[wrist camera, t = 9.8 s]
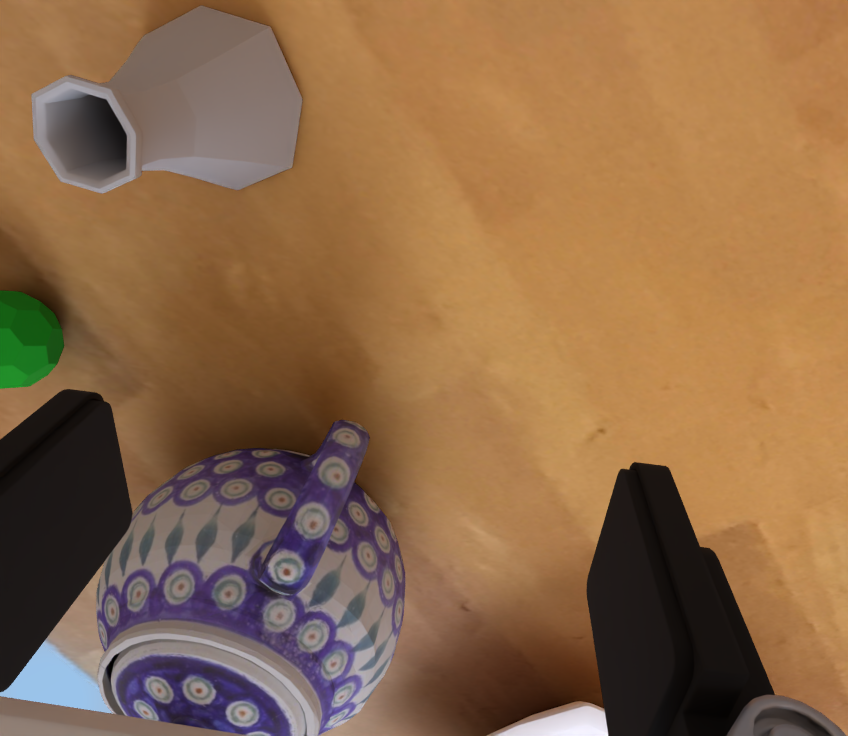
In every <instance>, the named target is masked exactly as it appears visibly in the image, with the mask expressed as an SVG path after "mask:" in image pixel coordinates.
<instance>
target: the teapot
mask: <svg viewBox="0 0 848 736" xmlns="http://www.w3.org/2000/svg"><path fill="white" fill-rule="evenodd" d="M369 439H370V437H369V434H368V432H367V430H366V429H365V428H364V427H363V426H361V425H359V424H358V423H356V422H353V421H347V420H339V421H335V422H334V423H333V425H332V427H331V429H330V430H329V432H328V434H327V436H326V438H325V440H324V441H323V443H322V445H321V446H320V448H319V449H318V450H317V452H316V453H315V454H313V455H311V456H309V455H306V454H303V453H298V452H293V451H288V450H279V449H264V448H252V449H239V450H233V451H229V452H226V453H222V454H218V455H215V456H212V457H209V458H206V459H204V460H202V461H199V462H197V463H195V464H193V465H190V466H188V467H186V468H185V469H183V470H182V471H180V472H179V473H177V474H176V475H174V476H173V477H172V478H170V479H169V480H167V481H166V482H165V483H163V484H162V485H161V486H159V487H158V488H157V489H156V490H154V491H153V492H152V493H150V494H149V495H148V496H147V497H146V498H145V499H144V500H143V502H142V503H141V504H140V505H139V506H138V507H137V509H136V510H135V511H134V512H133V513H132V520H131V524H130V527H129V529H128V531H127V532H126V534H125V535H124V536H123V538H122V539H121V540H120V541H119V543H118V544H117V545H116V547H115V548H114V549H113V551H112V552H111V553H110V555H109V556H108V557H107V559H106V560H105V562H104V566H103V569H102V572H101V576H100V579H99V584H98V588H97V592H96V613H97V624H98V632H99V636H100V640H101V643H102V646H103V648H104V651H105V653H104V654H103V655H102V657H101V659H100V663H99V668H98V683H99V689H100V693H101V696H102V698H103V700H104V702H105V704H106V705H107V707H108V708H109V709H110V710H111V712H112V713H113V714H117V715H123V716H130V717H136V718H142V719H148V720H155V721H161V722H167V723H173V724H180V725H186V726H192V727H198V728H205V729H211V730H217V731H223V732H230V733H236V734H242V735H248V736H319V735H320V734H322V733H324V732H326V731H328V730H331V729H333V728H335V727H337V726H339V725H341V724H343V723H345V722H347V721H348V720H349V719H351V718H352V717H353V716H354V715H356V714H357V713H358V712H359V711H360V710H361V709H362V707H363V706H364V704H365V703H366V701H367V700H368V698H369V696H370V695H371V693H372V692H373V691H374V689H375V688H376V686H377V685H378V683H379V682H380V681H381V679H382V678H383V676H384V675H385V673H386V671H387V669H388V667H389V665H390V663H391V660H392V658H393V655H394V652H395V648H396V644H397V641H398V637H399V634H400V630H401V626H402V621H403V615H404V603H405V570H404V565H403V560H402V556H401V552H400V548H399V545H398V541H397V538H396V536H395V533H394V531H393V528H392V525H391V523H390V521H389V519H388V518H387V517H386V516H385V514H384V513H383V512H382V511H381V509H380V508H379V507H378V506H377V505H376V503H375V502H374V501H373V500H372V499H371V498H370V497H369V496H368V495H367V494H366V493H365V492H364V491H363V490H362V489H361V488H360V487H359V486H358V485H357V484H356V483H355V482H354V481H355V478H356V476H357V474H358V471H359V469H360V466H361V464H362V461H363V459H364V456H365V453H366V450H367V446H368V443H369Z"/></svg>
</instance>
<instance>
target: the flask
mask: <svg viewBox="0 0 848 736" xmlns="http://www.w3.org/2000/svg"><path fill="white" fill-rule="evenodd" d="M302 101H303V99H302V97H301V94H300V92H299V90H298V88H297V85H296V83H295V81H294V79H293V76H292V74H291V72H290V70H289V67H288V65H287V63H286V61H285V58H284V56H283V54H282V52H281V49H280V47H279V45H278V43H277V40H276V38H275V36H274V34H273V31H272V29H271V27H270V26H267V25H263V24H260V23H257V22H254V21H250V20H247V19H244V18H241V17H237V16H234V15H231V14H228V13H224V12H221V11H218V10H215V9H211V8H208V7H205V6H202V5H201V6H199V7H197V8H195V9H193V10H191V11H189V12H187V13H186V14H184V15H182V16H180V17H178V18H176V19H174V20H172V21H170V22H169V23H167V24H165V25H163V26H161V27H159V28H157V29H155V30H153V31H152V32H150V33H148V34H146V35H144V36H143V37H142V38H141V40H140V41H139V42H138V44H137V45H136V47H135V48H134V50H133V51H132V53H131V54H130V56H129V58H128V59H127V61H126V62H125V63H124V64H123V66H122V67H121V68H120V69H119V70H118V72H117V73H116V74H115V75H114V76H113V78H112V79H111V80H110V81H109V82H106V83H96V82H93V81H90V80H86V79H83V78H80V77H76V76H73V75H68V76H65V77H63V78H61V79H59V80H57V81H55V82H53V83H52V84H50V85H48V86H46V87H44V88H42V89H40V90H38V91H36V92H35V93H33V94H32V112H33V131H34V141H35V142H36V144H37V145H38V147H39V148H40V150H41V152H42V153H43V155H44V156H45V158H46V159H47V161H48V163H49V164H50V166H51V167H52V169H53V170H54V172H55V174H56V175H57V177H58V178H59V180H60V181H61V182H64V183H68V184H71V185H75V186H78V187H81V188H85V189H88V190H91V191H95V192H98V193H101V194H102V193H105V192H108V191H110V190H112V189H114V188H116V187H119V186H121V185H123V184H125V183H128V182H130V181H132V180H134V179H136V178H139V177H140V176H141V175H142V171H150V170H165V171H169V172H174V173H178V174H182V175H186V176H190V177H193V178H197V179H200V180H203V181H207V182H210V183H213V184H217V185H220V186H223V187H227V188H231V189H235V190H240V189H242V188H244V187H247V186H249V185H252V184H254V183H256V182H259V181H261V180H263V179H266V178H268V177H271V176H273V175H275V174H278V173H280V172H282V171H285V170H287V169H290V168H292V166H293V159H294V153H295V146H296V140H297V133H298V127H299V120H300V114H301V107H302Z"/></svg>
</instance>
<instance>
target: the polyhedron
mask: <svg viewBox="0 0 848 736" xmlns="http://www.w3.org/2000/svg"><path fill="white" fill-rule="evenodd" d="M63 348H64V342H63V333H62V328H61V326H60V324H59V322H58V320H57V318H56V316H55V314H54V313H53V312H52V311H51V310H50V309H49V308H47V307H46V306H45V305H44V304H43V303H41V302H40V301H38V300H36V299H34V298H32V297H30V296H28V295H26V294H25V293H23V292H17V291H0V389H1V388H16V387H28V386H31V385H33V384H34V383H36V382H37V381H39V380H41V379H42V378H44V377H45V376H47V375H48V374H49V373H50V372H51V371H52V369H53V368H54V367H55V366H56V365H57V363H58V361H59V358H60V356H61V353H62V350H63Z"/></svg>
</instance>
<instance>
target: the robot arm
mask: <svg viewBox="0 0 848 736" xmlns="http://www.w3.org/2000/svg"><path fill="white" fill-rule="evenodd" d="M131 520H132V508H131V503H130V498H129V493H128V488H127V483H126V478H125V473H124V468H123V463H122V458H121V453H120V448H119V443H118V438H117V433H116V428H115V423H114V418H113V413H112V409H111V406H110V404H109V403H107V402H104V400H103V398H102V396H101V395H100V394H98V393H94V392H87V391H79V390H71V389H66V390H63V391H61V392H59V393H58V394H57V395H55V396H54V397H53V398H52V399H50V400H49V401H48V402H47V403H45V404H44V405H43V406H42V407H40V408H39V409H38V410H37V411H36V412H34V413H33V414H32V415H31V416H29V417H28V418H27V419H26V420H24V421H23V422H22V423H21V424H19V425H18V426H17V427H16V428H14V429H13V430H12V431H11V432H9V433H8V434H7V435H6V436H4V437H3V438H2V439H1V440H0V692H2V691H4V690H6V689H7V688H8V687H9V686H10V685H11V684H12V683H13V682H14V680H15V679H16V678H17V676H18V675H19V674H20V672H21V671H22V670H23V668H24V667H25V666H26V664H27V663H28V662H29V660H30V659H31V658H32V656H33V655H34V654H35V653H36V651H37V650H38V649H39V647H40V646H41V645H42V643H43V642H44V641H45V639H46V638H47V637H48V635H49V634H50V633H51V631H52V630H53V629H54V627H55V626H56V625H57V623H58V622H59V621H60V619H61V618H62V617H63V615H64V614H65V613H66V612H67V610H68V609H69V608H70V606H71V605H72V604H73V602H74V601H75V600H76V598H77V597H78V596H79V594H80V593H81V592H82V590H83V589H84V588H85V586H86V585H87V584H88V582H89V581H90V580H91V578H92V577H93V576H94V575H95V573H96V572H97V571H98V569H99V568H100V567H101V565H102V564H103V563H104V561H105V560H106V559H107V557H108V556H109V555H110V553H111V552H112V551H113V549H114V548H115V547H116V545H117V544H118V543H119V541H120V540H121V539H122V538H123V536H124V535H125V534H126V532H127V531H128V529H129V527H130V524H131ZM587 600H588V607H589V613H590V619H591V626H592V632H593V639H594V645H595V652H596V658H597V665H598V671H599V678H600V684H601V691H602V697H603V704H604V710H605V717H606V723H607V729H608V736H846V735H845V734H844V732H843V731H842V730H841V729H840V728H839V727H838V726H837V725H836V724H834V723H833V722H832V721H831V720H829V719H828V718H827V717H826V716H825V715H823V714H822V713H821V712H819V711H817V710H815V709H814V708H812V707H810V706H808V705H806V704H805V703H803V702H800V701H797V700H794V699H791V698H788V697H785V696H778V695H775V694H774V691H773V689H772V686H771V684H770V682H769V679H768V677H767V674H766V672H765V670H764V667H763V665H762V662H761V660H760V658H759V655H758V653H757V650H756V648H755V646H754V643H753V641H752V638H751V636H750V634H749V631H748V629H747V626H746V624H745V622H744V619H743V617H742V615H741V612H740V610H739V607H738V605H737V603H736V600H735V598H734V595H733V593H732V591H731V588H730V586H729V583H728V581H727V579H726V576H725V574H724V571H723V569H722V567H721V564H720V562H719V560H718V558H717V556H716V554H715V553H714V552H713V551H712V550H711V549H710V548H704V547H700V546H699V543H698V541H697V538H696V536H695V533H694V530H693V528H692V525H691V523H690V520H689V518H688V515H687V513H686V510H685V507H684V505H683V502H682V500H681V497H680V495H679V492H678V490H677V487H676V485H675V482H674V479H673V477H672V474H671V472H670V470H669V468H668V467H666V466H660V465H653V464H645V463H637V462H634V463H632V465H631V466H630V469H629V470H627V469H621V470H620V471H619V473H618V476H617V479H616V483H615V486H614V489H613V493H612V496H611V500H610V503H609V506H608V510H607V513H606V517H605V520H604V523H603V527H602V530H601V534H600V537H599V541H598V544H597V547H596V551H595V554H594V558H593V561H592V564H591V568H590V571H589V575H588V580H587ZM0 736H248V735H242V734H236V733H230V732H223V731H217V730H211V729H205V728H198V727H192V726H186V725H180V724H173V723H167V722H161V721H155V720H148V719H142V718H136V717H130V716H123V715H117V714H111V713H104V712H97V711H91V710H84V709H78V708H71V707H65V706H59V705H52V704H46V703H40V702H33V701H26V700H20V699H14V698H7V697H1V696H0Z"/></svg>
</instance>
